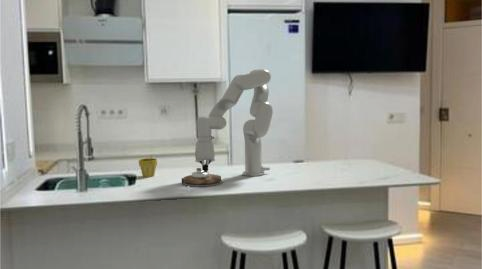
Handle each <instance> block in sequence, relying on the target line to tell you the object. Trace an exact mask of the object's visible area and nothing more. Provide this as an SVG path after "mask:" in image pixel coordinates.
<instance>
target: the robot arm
mask: <svg viewBox="0 0 482 269" xmlns="http://www.w3.org/2000/svg"><path fill="white" fill-rule="evenodd" d="M271 77H272V74H271V72H270V71H269V70H267V69H264V68H263V69H253V70H251V71H249V73H246V74H237V75H235V76H234V77H233V78H232V80H231V81H230V84H229V85H228V87H227V88H226V91H225V92H224V94H223V96H222V97H221V98H220V99H219V100H218V101H217V103H216V104H215V105H214V107H213V108H211V111H210V112H209V115H207V116H205V115H204V116H198V117H197V141H196V142H195V153H194V154H195V157H194V158H195V162H196V163H199V164H201V166H202V167H201V170H204V171H205V172H209V164H211V163H212V162H215V161H216V159H215V147H214V142H213V141H212V140H214V139H215V136H212V130H218V131H219V130H223V129H225V128H226V126H227V119H226V118H225V117H224V115H225V114H226V113H227V112H228V110H230V109H232V108H233V107H235V106H236V105H237V104H238V102H239V101H240V98H241V96H242V94H243V92H244V91H248V90H251V89H252V90H253V96H252V99H251V100H252V101H251V103H250V107H249V114H250V115H251V117H253V118H255V119H248V120H246V121H245V122H244V123H243V125H242V126H243V127H242V129H243V130H242V132H243V138H244V168H245V171H242V175H243V176H247V177H259V176H263V175H265V172H266V171H270V170H271V167H269V166H263V164H262V139H261V138H264V137H265V136H266V135H267V134H268V132H269V128H270V125H271V121H272V117H273V112H274V111H273V110H274V109H273V107H272V105H271V104H270V102H268V100H269V93H270V92H269V91H270V90H269V86H268V84H269V83H270V82H271Z"/></svg>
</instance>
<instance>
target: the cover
mask: <svg viewBox="0 0 482 269" xmlns="http://www.w3.org/2000/svg"><path fill="white" fill-rule="evenodd" d="M209 174H210V172H209V171H207V172H205V171H204V170H202V169H201V170H197V169H196V171H193V172H192V173H191V175H192V179H207V178H209Z"/></svg>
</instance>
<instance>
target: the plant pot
mask: <svg viewBox="0 0 482 269" xmlns="http://www.w3.org/2000/svg"><path fill="white" fill-rule="evenodd" d="M138 165H139V167H140V170H141V175H142V177H143V178H151V177H152V178H153V177H154V176H155V174H156V169H157V166H158V159H157V158H156V157H155V158H152V157H149V158H148V157H146V158H140V159H139V160H138Z"/></svg>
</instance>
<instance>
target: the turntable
mask: <svg viewBox="0 0 482 269" xmlns="http://www.w3.org/2000/svg"><path fill="white" fill-rule="evenodd" d="M197 170H202V167H196V171H197ZM182 178H183V180H184V183H187V184H194V185H204V184H214V183H218V182H220V181H221V179H222V176H221V175H219V174H211V173H209V178H207V179H192V174H191V175H190V174H189V175H185V176H184V177H182Z"/></svg>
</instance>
